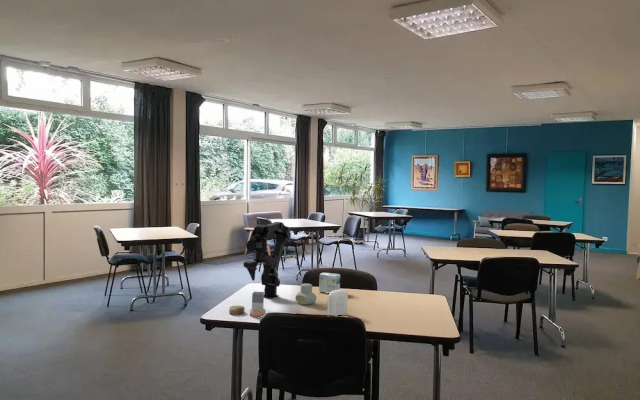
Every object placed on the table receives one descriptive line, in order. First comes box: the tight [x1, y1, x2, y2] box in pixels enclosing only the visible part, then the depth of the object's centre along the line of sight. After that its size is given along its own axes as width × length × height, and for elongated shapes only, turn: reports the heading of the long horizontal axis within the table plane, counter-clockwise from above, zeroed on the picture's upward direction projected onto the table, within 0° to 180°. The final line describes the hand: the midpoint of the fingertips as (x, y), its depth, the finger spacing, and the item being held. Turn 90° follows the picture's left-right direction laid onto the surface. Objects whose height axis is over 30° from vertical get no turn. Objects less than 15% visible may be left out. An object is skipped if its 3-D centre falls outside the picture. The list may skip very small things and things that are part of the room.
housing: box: [251, 291, 265, 312], centre depth 203 cm, size 4×4×8 cm
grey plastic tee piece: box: [295, 283, 317, 306], centre depth 225 cm, size 11×8×10 cm
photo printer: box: [326, 288, 349, 316], centre depth 208 cm, size 10×4×12 cm, turn 123°
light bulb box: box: [318, 272, 341, 292], centre depth 249 cm, size 11×7×11 cm, turn 69°
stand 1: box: [228, 304, 246, 316], centre depth 205 cm, size 7×7×2 cm
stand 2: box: [249, 308, 266, 319], centre depth 203 cm, size 7×7×2 cm
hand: (259, 279), depth 224 cm, fingers open, 9 cm apart
